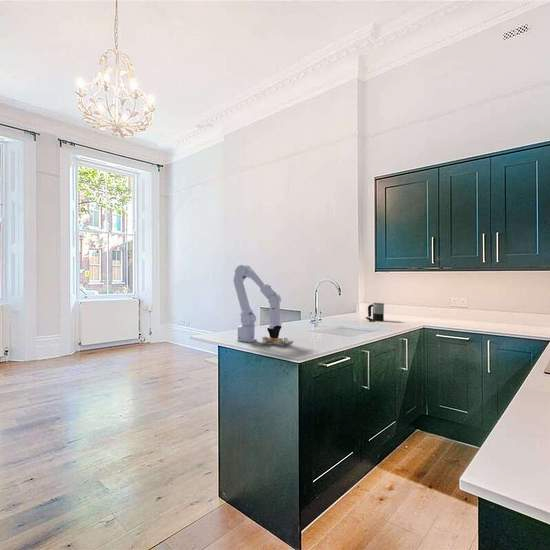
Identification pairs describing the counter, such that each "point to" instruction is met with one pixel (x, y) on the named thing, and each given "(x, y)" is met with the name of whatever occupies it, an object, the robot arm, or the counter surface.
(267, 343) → the mat
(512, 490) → the counter surface
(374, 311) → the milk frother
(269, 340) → the gate
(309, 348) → the counter surface
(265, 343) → the gate posts
